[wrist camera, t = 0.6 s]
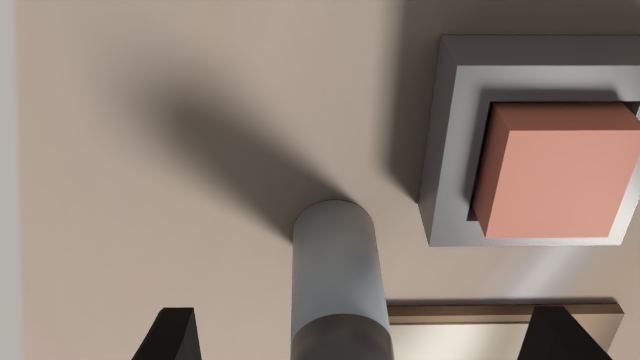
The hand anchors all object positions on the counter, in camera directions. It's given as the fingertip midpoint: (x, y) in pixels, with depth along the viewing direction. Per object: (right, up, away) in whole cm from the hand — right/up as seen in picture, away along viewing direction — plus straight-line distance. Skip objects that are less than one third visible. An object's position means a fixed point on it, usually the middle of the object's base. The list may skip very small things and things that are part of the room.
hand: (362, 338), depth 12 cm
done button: (+7, +4, +7) cm, 11 cm away
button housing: (+7, +5, +9) cm, 13 cm away
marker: (0, +1, +12) cm, 12 cm away
